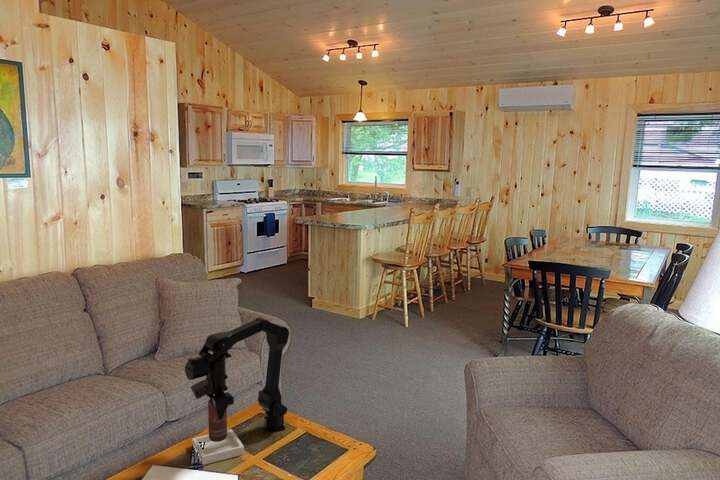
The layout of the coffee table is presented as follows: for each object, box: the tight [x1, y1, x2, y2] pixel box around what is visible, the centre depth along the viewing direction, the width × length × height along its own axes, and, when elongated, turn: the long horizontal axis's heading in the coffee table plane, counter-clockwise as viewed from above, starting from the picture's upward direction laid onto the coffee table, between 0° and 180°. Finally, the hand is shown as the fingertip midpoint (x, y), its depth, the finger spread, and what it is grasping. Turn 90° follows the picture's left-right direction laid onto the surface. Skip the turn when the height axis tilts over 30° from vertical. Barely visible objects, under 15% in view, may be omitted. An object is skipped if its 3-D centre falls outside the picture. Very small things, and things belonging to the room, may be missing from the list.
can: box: [207, 397, 228, 442], centre depth 180 cm, size 6×6×14 cm
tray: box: [191, 429, 245, 466], centre depth 181 cm, size 14×14×3 cm
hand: (217, 415), depth 180 cm, fingers closed on can, 5 cm apart
